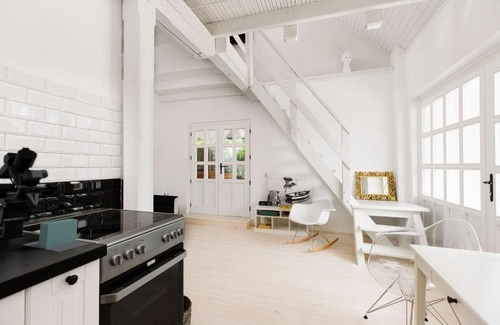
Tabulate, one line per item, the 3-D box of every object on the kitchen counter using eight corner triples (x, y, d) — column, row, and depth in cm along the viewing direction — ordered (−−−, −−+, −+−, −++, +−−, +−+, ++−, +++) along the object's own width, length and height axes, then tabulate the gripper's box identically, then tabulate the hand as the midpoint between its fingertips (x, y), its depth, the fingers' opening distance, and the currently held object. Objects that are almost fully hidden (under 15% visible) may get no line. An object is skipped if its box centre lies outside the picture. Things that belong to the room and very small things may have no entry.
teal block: (38, 247, 78) (40, 223, 79) (68, 240, 87) (70, 218, 88) (46, 248, 77) (48, 224, 77) (76, 241, 86) (77, 219, 86)
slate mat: (22, 246, 80) (22, 244, 80) (55, 239, 90) (55, 237, 90) (59, 254, 74) (59, 251, 74) (90, 245, 84) (90, 243, 84)
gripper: (-2, 160, 82) (12, 193, 77) (58, 164, 99) (73, 191, 94) (-15, 182, 84) (-2, 215, 79) (46, 181, 101) (59, 208, 97)
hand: (35, 206), depth 87 cm, fingers closed
